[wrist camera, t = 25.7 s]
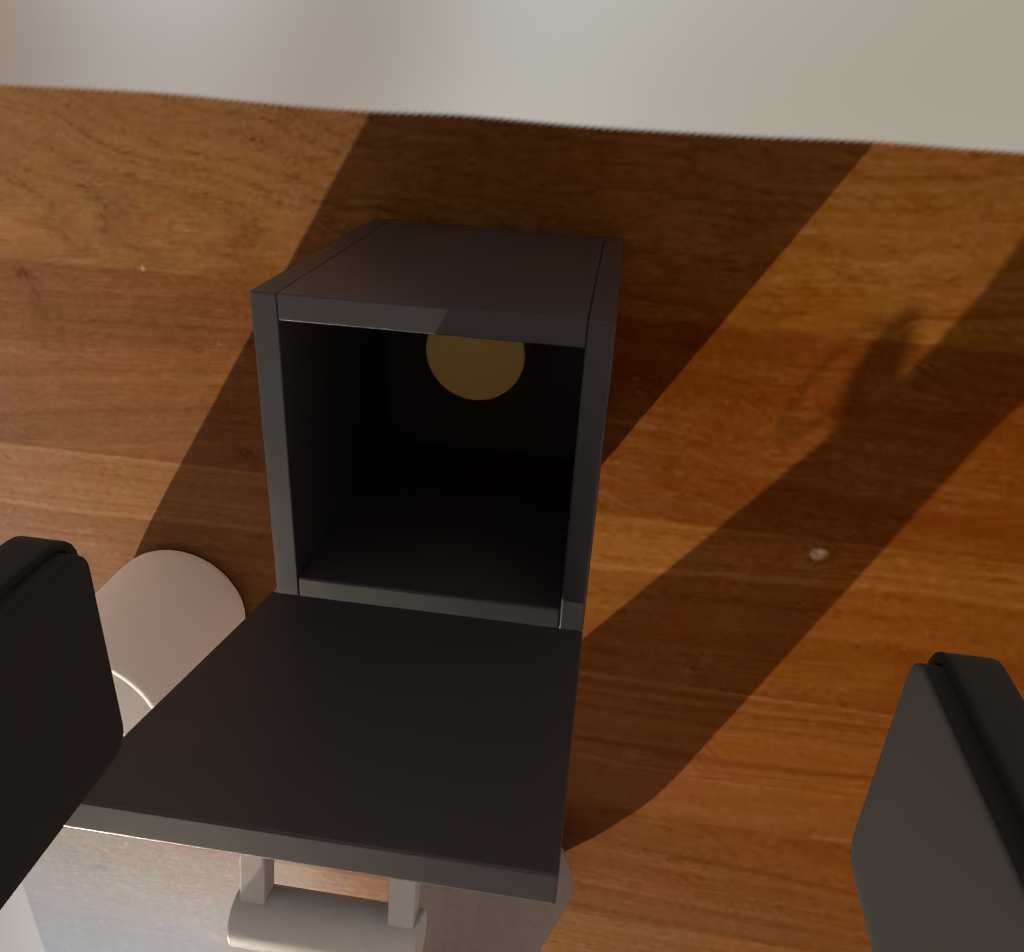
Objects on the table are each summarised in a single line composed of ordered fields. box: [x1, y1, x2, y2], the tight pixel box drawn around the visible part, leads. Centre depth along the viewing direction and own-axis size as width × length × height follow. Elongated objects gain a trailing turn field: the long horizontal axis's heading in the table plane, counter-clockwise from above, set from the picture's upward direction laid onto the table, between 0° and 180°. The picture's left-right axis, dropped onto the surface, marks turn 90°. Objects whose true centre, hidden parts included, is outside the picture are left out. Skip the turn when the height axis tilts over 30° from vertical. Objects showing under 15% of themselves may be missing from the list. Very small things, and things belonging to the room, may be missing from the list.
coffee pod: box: [426, 334, 533, 400], centre depth 38 cm, size 4×4×4 cm
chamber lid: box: [64, 592, 582, 952], centre depth 26 cm, size 13×12×5 cm
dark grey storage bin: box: [250, 219, 624, 631], centre depth 35 cm, size 12×12×14 cm
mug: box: [95, 550, 245, 737], centre depth 47 cm, size 12×8×10 cm
